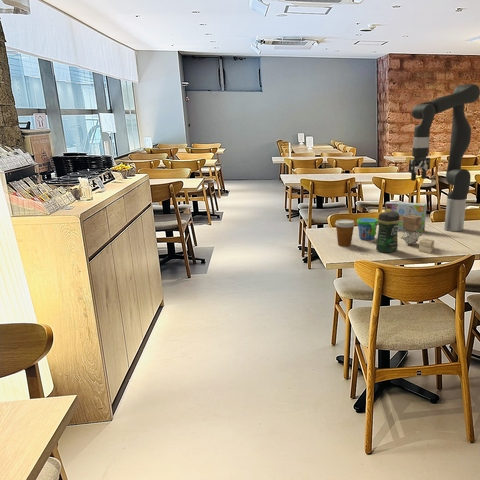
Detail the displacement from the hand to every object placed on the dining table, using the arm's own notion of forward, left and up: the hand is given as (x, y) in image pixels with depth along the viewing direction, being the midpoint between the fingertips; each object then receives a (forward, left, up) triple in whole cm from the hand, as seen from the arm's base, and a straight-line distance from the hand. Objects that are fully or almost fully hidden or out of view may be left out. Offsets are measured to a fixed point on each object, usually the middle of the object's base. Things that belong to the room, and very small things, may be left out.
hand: (418, 179), depth 216 cm
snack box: (-11, -14, -30) cm, 35 cm away
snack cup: (+19, -15, -30) cm, 39 cm away
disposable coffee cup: (+36, -15, -30) cm, 49 cm away
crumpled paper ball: (+12, +6, -30) cm, 33 cm away
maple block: (+16, +17, -30) cm, 38 cm away
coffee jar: (+29, +5, -30) cm, 42 cm away
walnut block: (+12, +6, -22) cm, 26 cm away
